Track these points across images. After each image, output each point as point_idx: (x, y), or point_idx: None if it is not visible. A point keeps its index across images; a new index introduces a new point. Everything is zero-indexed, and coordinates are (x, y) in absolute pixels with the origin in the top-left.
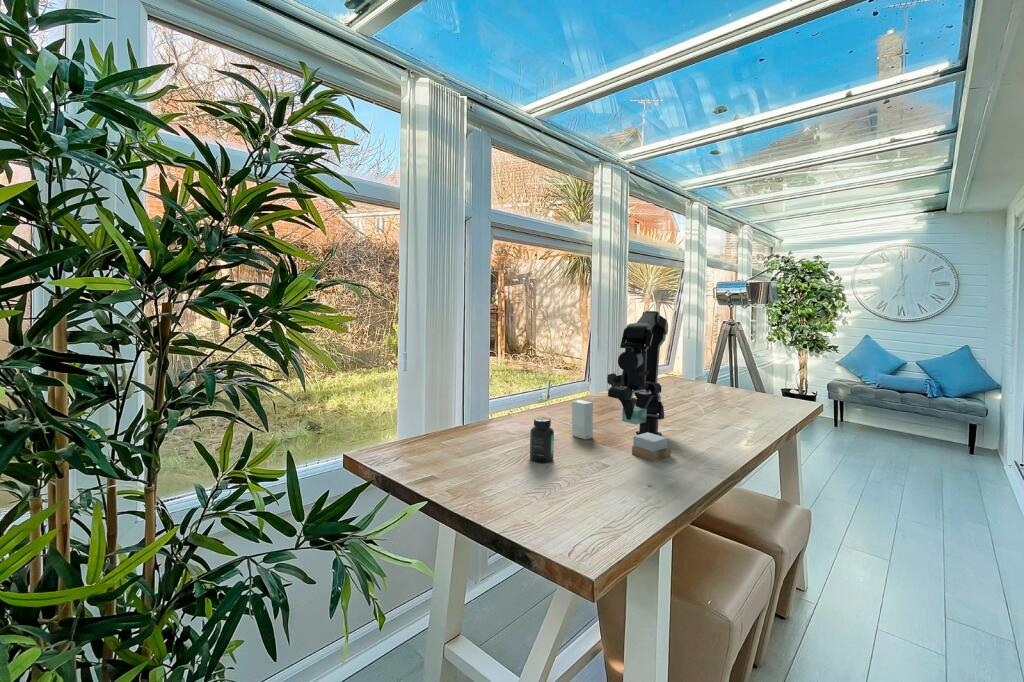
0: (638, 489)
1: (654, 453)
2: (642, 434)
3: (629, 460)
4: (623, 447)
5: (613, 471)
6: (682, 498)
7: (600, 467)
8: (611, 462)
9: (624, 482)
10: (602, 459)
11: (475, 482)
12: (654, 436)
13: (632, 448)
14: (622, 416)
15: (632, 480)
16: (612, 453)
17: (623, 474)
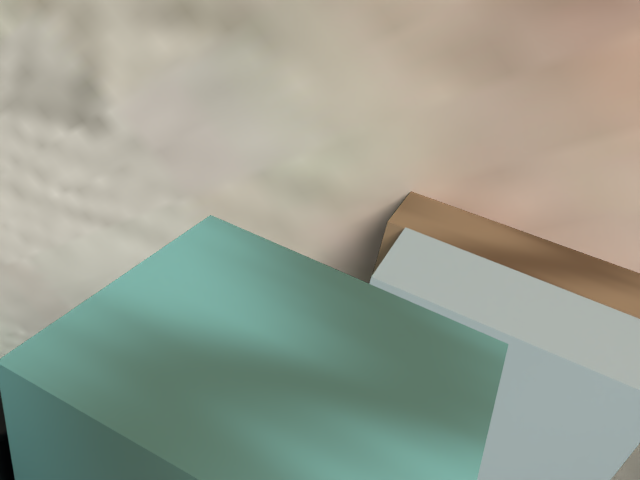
0: (9, 327)
1: None
2: (511, 354)
3: (266, 212)
4: (581, 46)
5: (55, 181)
6: None
7: (39, 91)
8: (148, 116)
9: (10, 266)
10: (146, 30)
11: None
12: (509, 468)
13: (394, 216)
14: (156, 257)
15: (50, 292)
16: (319, 33)
17: (67, 239)
